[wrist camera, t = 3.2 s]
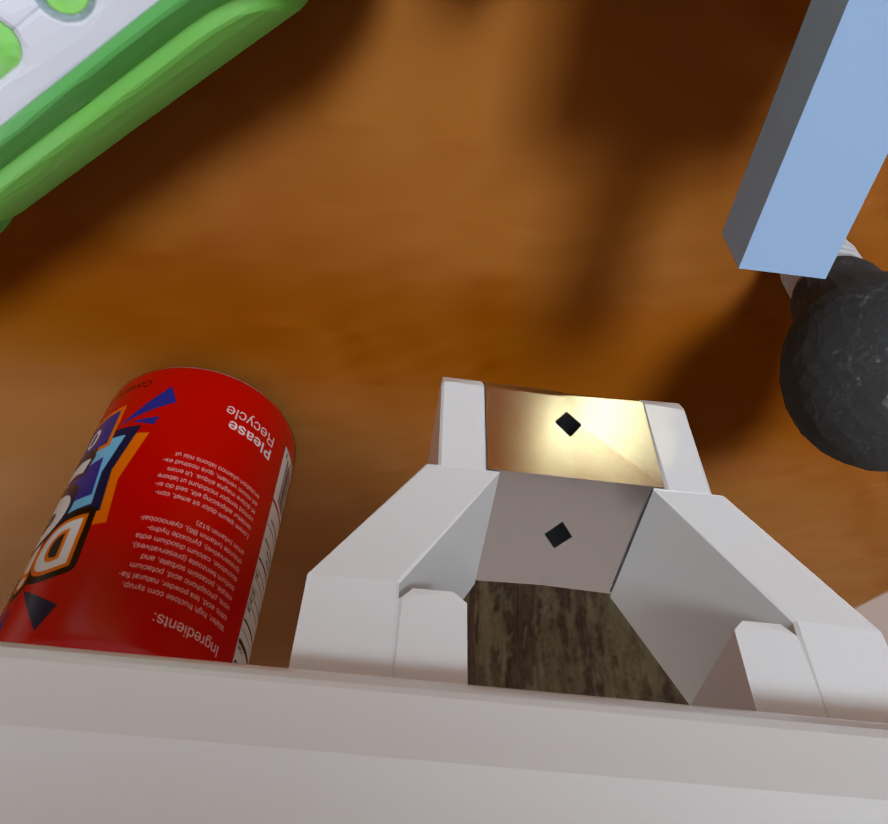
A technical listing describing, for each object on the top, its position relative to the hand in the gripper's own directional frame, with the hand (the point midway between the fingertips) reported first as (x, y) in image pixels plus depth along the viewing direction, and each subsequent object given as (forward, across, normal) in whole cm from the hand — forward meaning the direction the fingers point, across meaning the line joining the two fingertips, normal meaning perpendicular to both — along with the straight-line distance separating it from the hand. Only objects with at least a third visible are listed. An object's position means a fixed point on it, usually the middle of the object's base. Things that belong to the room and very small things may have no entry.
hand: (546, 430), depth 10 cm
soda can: (+19, +10, +18) cm, 28 cm away
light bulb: (+19, -12, +6) cm, 23 cm away
